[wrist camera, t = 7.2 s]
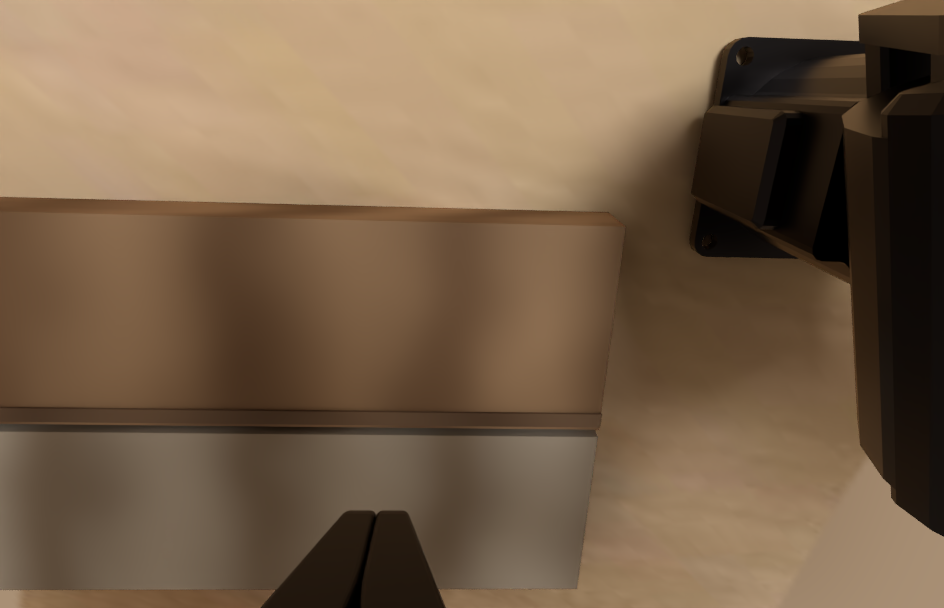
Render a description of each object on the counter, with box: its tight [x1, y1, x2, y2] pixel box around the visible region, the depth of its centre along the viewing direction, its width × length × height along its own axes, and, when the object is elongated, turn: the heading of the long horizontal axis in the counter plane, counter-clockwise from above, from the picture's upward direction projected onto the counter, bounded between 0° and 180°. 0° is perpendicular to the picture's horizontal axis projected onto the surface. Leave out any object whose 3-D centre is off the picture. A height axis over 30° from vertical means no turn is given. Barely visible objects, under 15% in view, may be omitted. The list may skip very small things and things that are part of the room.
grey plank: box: [0, 424, 598, 590], centre depth 21 cm, size 22×7×2 cm, turn 88°
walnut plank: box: [0, 197, 626, 430], centre depth 18 cm, size 22×7×2 cm, turn 88°
